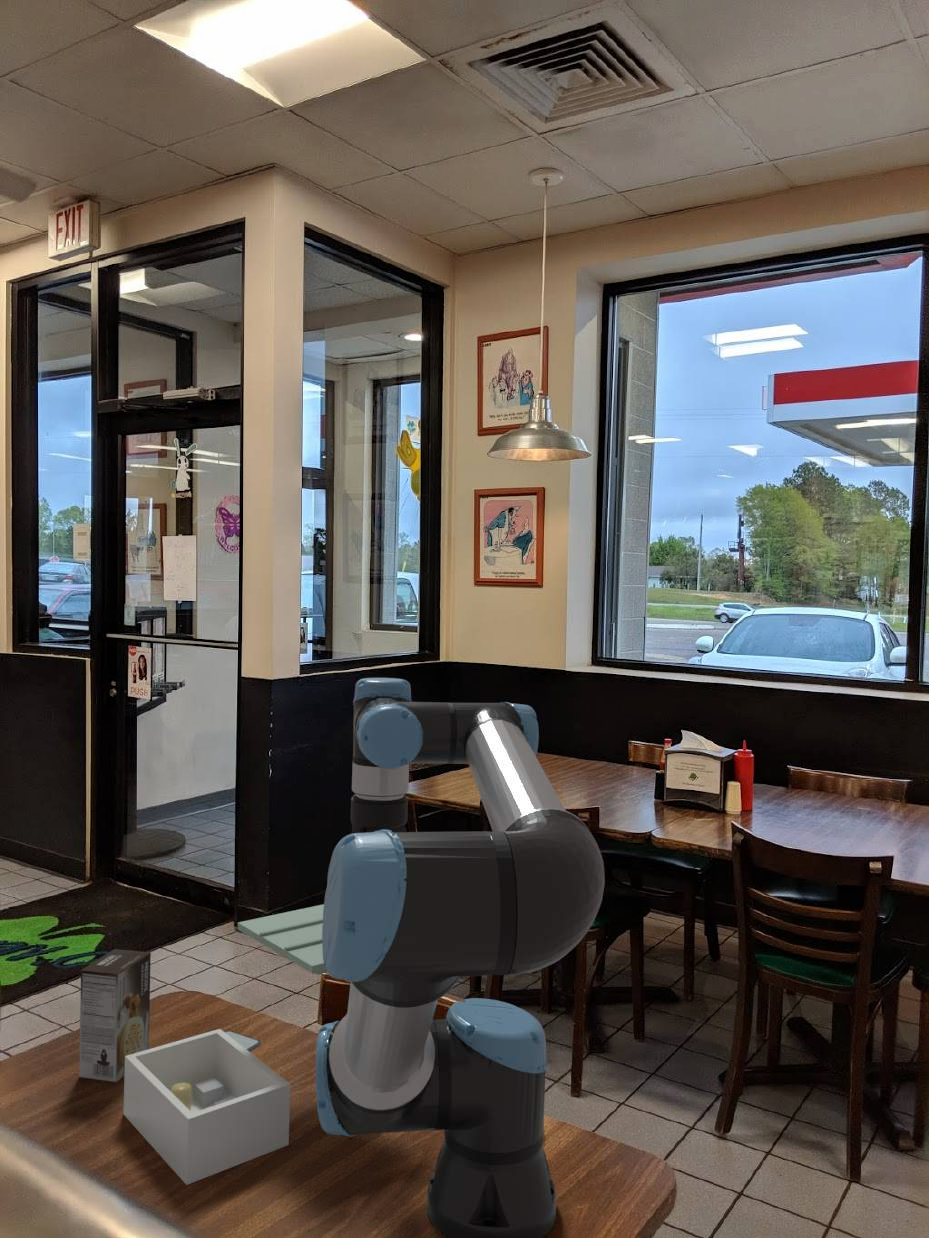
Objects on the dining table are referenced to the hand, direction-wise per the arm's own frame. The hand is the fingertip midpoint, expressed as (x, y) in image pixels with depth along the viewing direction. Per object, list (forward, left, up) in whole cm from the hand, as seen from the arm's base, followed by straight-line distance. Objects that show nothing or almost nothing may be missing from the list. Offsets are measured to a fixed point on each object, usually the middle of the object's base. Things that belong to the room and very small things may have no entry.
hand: (374, 969), depth 127 cm
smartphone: (+32, +7, -22) cm, 40 cm away
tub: (+14, +17, -22) cm, 31 cm away
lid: (+11, 0, -1) cm, 11 cm away
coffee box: (+38, +20, -22) cm, 48 cm away
